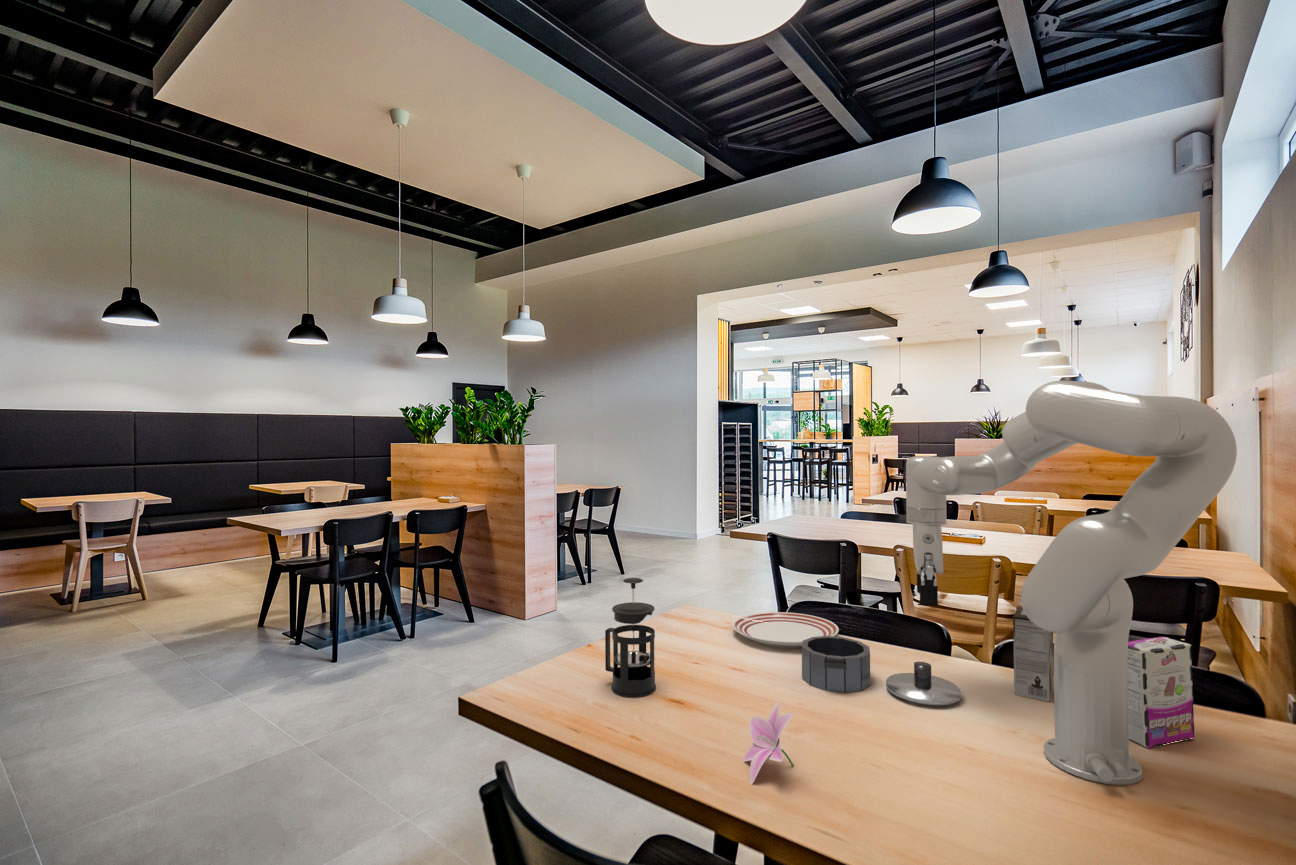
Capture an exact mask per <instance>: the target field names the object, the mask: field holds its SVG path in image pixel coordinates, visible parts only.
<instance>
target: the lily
mask: <svg viewBox="0 0 1296 865" xmlns="http://www.w3.org/2000/svg"><path fill="white" fill-rule="evenodd" d="M779 708H780V702H779V701H777V702H776V703H775V705H774V706H773V707H772V710H771V711H770V713H769V716H768V718H767V719H765V718H764V717H760V716H752V717H751V718H750V719H749V724H748V725H749V726H748V727H749V735H750V739H751V740H752V742H753V743H752V744H751V746H750V747H749V748H748V750H747V751H746V753H745V755H744V757H743V760H742V762H748V761H750V767H749V781H750V782H749V783H750V784H751V785H753V784H754V782H755V780H756V778H757V776H758V774H759V772H760V770H761V768H762V766H763V764H764V763H765V762H766V760H767V759H769V760H771V761H775V762H783V760H784V757H783V754H784V756H785V757H786V759H787V760H788V762H789V763H790V765H791V766H792V768H794V767H795V765H794V763H793V762H792V760H791V758H790V757H789V755H788V754H787V753H786V751H785V750H784V749H783V748H782V745H781V740H780V736H781V735H782V733H783V731H784V730H785V728H786V726H788V724H789V722H790V721H791V719H792V718H793V716H794V714H793V713H792V712H787V713H782V714H781V715H779V712H780V711H779Z"/></svg>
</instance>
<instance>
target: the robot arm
mask: <svg viewBox="0 0 1296 865" xmlns="http://www.w3.org/2000/svg"><path fill="white" fill-rule="evenodd" d="M1001 435H1002V439H1003V441H1002V442H1001V443H999V444H998V445H996V446H995V447H992V448H991V449H989V450H987V451H985V452H983V453H980V454H978V455H958V456H955V455H954V456H942V457H940V456H930V455H929V456H927V455H925V456H924V455H919V456H917V455H916V456H911V457H908V459H907V460H906V463H905V474H906V475H905V478H906V479H905V481H906V482H905V486H906V491H905V492H906V494H905V495H906V499H905V500H906V504H905V505H906V524H909V525H910V524H911V525H912V543H913V544H912V546H913V548H912V549H913V559H914V565H915V569H916V572H917V573H916V592H917V593H918V594H919V603H920V605H921V606H926V607H927V606H928V607H938V606H939V596H938V595H939V594H938V592H939V590H938V589H939V587H938V585H937V584H938V582H937V574H939V575H940V576H941V575H943V574H944V559H943V558H944V553H943V550H944V549H943V531H942V526H946V525H947V522H948V521H947V519H948V518H947V496H962V495H975V494H976V495H977V494H978V495H979V494H986V493H990V492H992V491H995V490H997V489H999V488H1002V487H1005V486H1007V485H1009V484H1010V483H1012V482H1014V481H1017V480H1019V479H1020V478H1022V477H1024V476H1025V475H1027V474H1028V473H1029V472H1031V471H1032V470H1033V469H1034V468H1035V467H1036V465H1038V463H1040V462H1042V461H1044V460H1046V459H1049V458H1050V457H1052V456H1053V455H1054V456H1055V455H1056V454H1058V453H1060V452H1062V451H1064V450H1067V449H1069V448H1071V447H1073V446H1075V445H1076V444H1080V445H1085V446H1088V447H1091V448H1095V449H1096V448H1097V449H1101V450H1103V451H1108V452H1113V453H1116V454H1120V455H1125V456H1133V457H1156V458H1155V460H1154V462H1152V464H1151V465H1150V466H1148V468H1146V470H1145V471H1143V472H1142V473H1141V474H1140V475H1139V476H1138V477H1137V478H1135V480H1134V481H1133V482H1132V483H1131V484H1130V486H1129V488H1128V489H1127V491H1126V492H1125V494H1123V496H1122V497H1121V498H1120V500H1119V501H1118V502H1117V503H1116V505H1114V506H1113V507H1112V508H1111V509H1110V510H1109V511H1107V512H1103V513H1100V514H1099V513H1098V514H1091V515H1086V516H1082V517H1079V518H1077V519H1075V520H1073V521H1071V522H1069V523H1068V524H1066V525H1065V526H1064V527H1063V528H1062V529H1061V530H1060V531H1059V533H1058V534H1056V536H1055V537H1054V539H1053V540H1052V541H1051V542H1050V544H1049V545H1048V547H1047V548H1046V550H1045V551H1044V553H1042V555H1041V556H1040V558H1039V559H1038V560H1037V562H1036V563H1035V565H1034V566H1033V568H1031V571H1030V572H1029V573H1028V574H1027V576H1026V577H1025V580H1024V582H1023V583H1022V587H1021V590H1020V603H1021V607H1022V608H1023V610H1024V612H1025V614H1026V616H1027V617H1028V618H1029V620H1030V621H1031V622H1032V623H1033V624H1035V625H1036V626H1038V627H1039V628H1041V629H1043V630H1046V631H1049V632H1052V633H1053V634H1055V635H1054V639H1053V660H1054V689H1053V693H1054V694H1053V695H1054V697H1053V698H1054V701H1053V702H1054V705H1053V707H1054V737H1053V738H1050V739H1048V740H1046V741H1045V742H1044V743H1043V754H1044V755H1045V757H1046V759H1048V761H1049V762H1050V763H1051V764H1053V766H1056V767H1058V768H1059V769H1061V770H1063V771H1065V772H1066V773H1069V774H1071V775H1074V776H1076V777H1078V778H1079V777H1080V778H1082V779H1085V780H1087V781H1092V782H1095V783H1100V784H1105V785H1113V786H1114V785H1116V786H1124V785H1132V784H1137V783H1138V782H1140V781H1141V780H1142V778H1143V769H1142V768H1143V767H1142V766H1141V765H1140V763H1139V762H1138V761H1137V760H1136V759H1134V757H1132V756H1130V752H1129V750H1130V747H1129V746H1130V745H1129V744H1130V743H1129V741H1130V740H1129V738H1128V680H1127V673H1128V642H1129V636H1130V630H1131V624H1132V618H1133V612H1134V611H1133V610H1134V598H1133V594H1132V591H1131V589H1130V587H1129V584H1128V583H1127V581H1126V580H1125V579H1129V578H1134V577H1139V576H1143V575H1146V574H1148V573H1151V572H1153V571H1155V570H1156V569H1157V568H1158V567H1159V566H1160V565H1161V564H1162V563H1163V562H1164V560H1165V559H1166V558H1167V557H1168V555H1169V554H1170V553H1171V552H1172V550H1173V549H1174V548H1175V547H1176V546H1177V544H1178V543H1179V542H1180V541H1181V540H1182V539H1183V537H1184V536H1185V535H1186V534H1187V532H1188V531H1189V530H1190V529H1191V528H1192V526H1193V525H1194V524H1195V522H1196V521H1197V520H1198V518H1200V516H1201V515H1202V513H1203V512H1204V511H1205V510H1206V508H1208V507H1209V506H1210V504H1211V503H1212V502H1213V501H1214V499H1215V498H1216V497H1217V496H1218V494H1220V492H1221V491H1222V490H1223V488H1224V487H1225V485H1226V484H1227V482H1228V481H1229V479H1230V477H1231V476H1232V473H1233V471H1234V469H1235V468H1234V467H1235V465H1236V460H1237V455H1238V454H1237V453H1238V452H1237V450H1238V448H1237V442H1236V438H1235V435H1234V432H1233V430H1232V428H1231V426H1230V424H1229V423H1228V422H1227V420H1226V419H1225V418H1224V416H1222V414H1220V413H1219V411H1217V410H1216V409H1215V408H1213V407H1212V406H1210V405H1208V404H1206V403H1204V402H1202V401H1200V400H1197V399H1193V398H1188V397H1182V396H1168V395H1167V396H1165V395H1163V396H1160V395H1141V394H1135V393H1134V394H1133V393H1128V392H1122V391H1121V392H1120V391H1113V390H1110V389H1109V388H1108V387H1106V386H1104V385H1102V384H1099V383H1096V382H1090V381H1079V380H1078V381H1076V380H1055V381H1050V382H1047V383H1044V384H1042V385H1041V386H1039V387H1037V388H1036V389H1035V390H1034V391H1033V392H1032V393H1031V394H1030V396H1029V397H1028V399H1027V401H1026V405H1025V411H1024V412H1022V413H1020V414H1019V415H1017V416H1015V417H1013V418H1011V419H1010V420H1008V421H1007V422H1006V423H1004V425H1003V427H1002V431H1001Z"/></svg>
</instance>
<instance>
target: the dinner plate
mask: <svg viewBox="0 0 1296 865" xmlns="http://www.w3.org/2000/svg"><path fill="white" fill-rule="evenodd" d="M743 618H746V619H743ZM747 619H752V620H758V621H763V622H756V621H752V620H747ZM764 622H767V623H764ZM769 623H775V624H769ZM731 627H732V629H733V630H734V631H735V632H737V633H738V634H739V635H741V636H742V637H745V638H746V639H749V640H751V641H754V642H757V643H759V644H762V645H766V646H769V647H777V648H783V649H784V648H791V649H794V648H802V642H803V640H806V639H808V638H811V637H818V636H835V637H836V636H837V634H838V633H839V631H840V628H839V627H838V625H837V624H835V622H832V621H831V620H829V619H825V618H823V617H819V616H815V615H810V614H805V613H796V612H787V611H786V612H785V611H784V612H783V611H782V612H781V611H776V612H775V611H773V612H758V613H751V614H747V615H744V616H740V617H739V618H737V619H735V620H734V621H733V622H732V626H731Z"/></svg>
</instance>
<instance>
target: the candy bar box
mask: <svg viewBox="0 0 1296 865" xmlns="http://www.w3.org/2000/svg"><path fill="white" fill-rule="evenodd" d="M1192 661H1193V660H1192V644H1190V643H1187V642H1183V641H1181V640H1177V639H1174V638H1171V637H1170V638H1169V637H1167V636H1158V637H1157V636H1156V637H1150V638H1143V639H1136V640H1131V641H1130V640H1128V673H1127V680H1128V738H1129V741H1130V740H1131V741H1130V742H1132V741H1133V743H1134V742H1135V744H1137V743H1138V744H1137V745H1139V744H1140V745H1139V746H1141V745H1142V747H1143V746H1144V747H1143V748H1147V749H1153V748H1152V747H1154V748H1156V747H1155V746H1159V747H1161V746H1160V745H1163V744H1167V743H1171V742H1175V741H1180V740H1185V739H1190V738H1194V737H1196V736H1195V716H1194V692H1193V687H1194V686H1193V667H1192V666H1193V665H1192V664H1193V663H1192Z"/></svg>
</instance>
